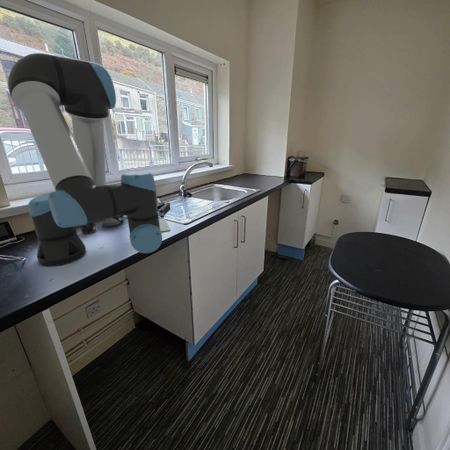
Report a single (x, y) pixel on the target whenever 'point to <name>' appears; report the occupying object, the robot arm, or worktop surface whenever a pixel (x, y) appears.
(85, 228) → the supplement bottle
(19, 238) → the worktop surface
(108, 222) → the teacup
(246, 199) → the worktop surface
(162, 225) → the plate
